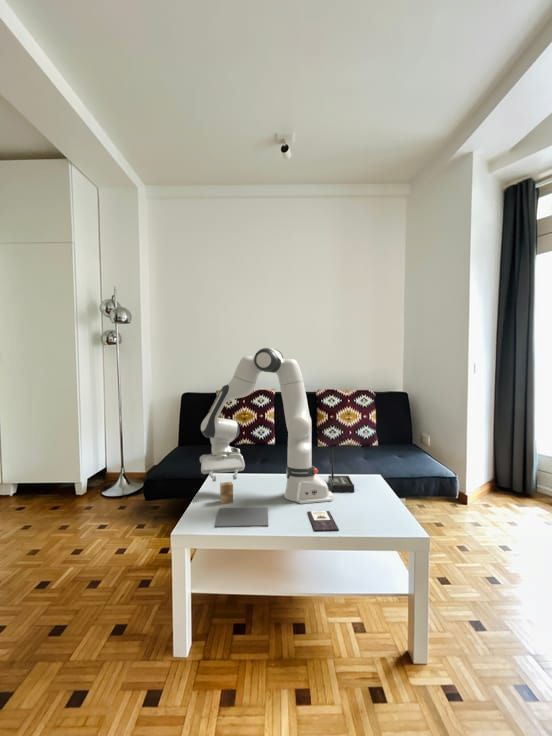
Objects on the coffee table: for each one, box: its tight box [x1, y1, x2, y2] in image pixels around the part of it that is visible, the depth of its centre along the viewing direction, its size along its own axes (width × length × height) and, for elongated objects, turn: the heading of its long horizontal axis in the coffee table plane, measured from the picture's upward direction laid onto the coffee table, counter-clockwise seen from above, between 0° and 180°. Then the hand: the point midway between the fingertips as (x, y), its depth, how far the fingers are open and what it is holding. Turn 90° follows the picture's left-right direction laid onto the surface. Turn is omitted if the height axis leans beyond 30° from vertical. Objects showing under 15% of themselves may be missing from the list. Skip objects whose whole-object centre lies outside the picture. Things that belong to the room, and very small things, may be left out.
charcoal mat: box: [214, 506, 269, 528], centre depth 153 cm, size 20×18×1 cm
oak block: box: [219, 481, 234, 505], centre depth 171 cm, size 5×4×8 cm
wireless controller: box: [327, 448, 355, 493], centre depth 193 cm, size 20×14×17 cm
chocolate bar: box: [307, 510, 340, 533], centre depth 149 cm, size 9×1×18 cm
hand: (224, 479), depth 175 cm, fingers open, 8 cm apart
